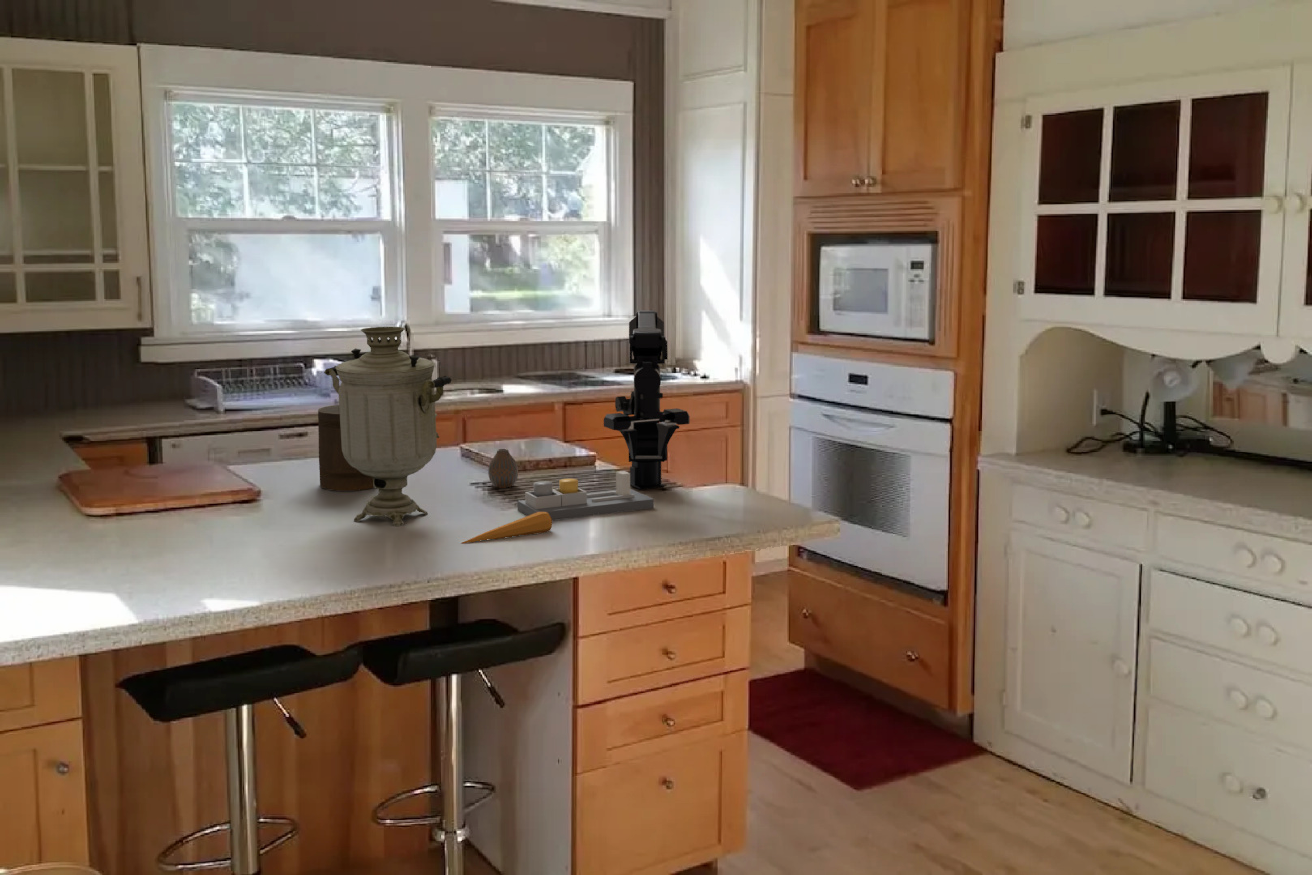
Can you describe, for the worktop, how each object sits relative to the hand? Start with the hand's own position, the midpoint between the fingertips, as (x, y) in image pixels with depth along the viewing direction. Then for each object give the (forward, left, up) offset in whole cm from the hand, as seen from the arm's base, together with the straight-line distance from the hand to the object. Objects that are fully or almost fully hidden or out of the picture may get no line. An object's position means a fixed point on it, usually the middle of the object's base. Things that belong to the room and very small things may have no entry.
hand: (646, 457), depth 277 cm
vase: (+23, -29, -10) cm, 38 cm away
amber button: (+19, 0, -6) cm, 20 cm away
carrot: (+39, +14, -10) cm, 42 cm away
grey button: (+25, 0, -6) cm, 26 cm away
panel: (+15, 0, -10) cm, 18 cm away
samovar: (+52, -12, -10) cm, 54 cm away
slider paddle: (+6, 0, -8) cm, 10 cm away
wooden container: (+54, -47, -10) cm, 72 cm away
